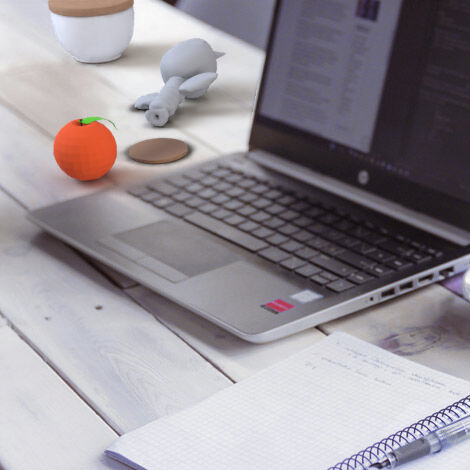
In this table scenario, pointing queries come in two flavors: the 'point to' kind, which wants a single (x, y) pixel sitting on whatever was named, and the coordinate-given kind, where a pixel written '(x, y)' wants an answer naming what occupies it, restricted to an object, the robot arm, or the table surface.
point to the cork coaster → (158, 150)
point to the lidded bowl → (93, 27)
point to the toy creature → (181, 79)
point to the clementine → (85, 149)
